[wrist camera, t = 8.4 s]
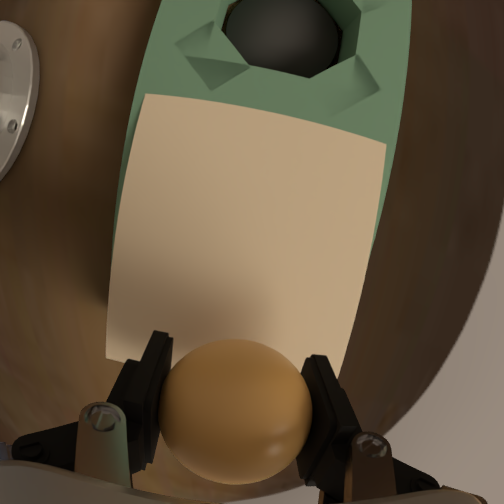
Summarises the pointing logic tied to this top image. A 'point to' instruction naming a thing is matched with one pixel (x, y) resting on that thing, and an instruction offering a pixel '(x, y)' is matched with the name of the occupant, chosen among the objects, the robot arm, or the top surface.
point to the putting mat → (255, 174)
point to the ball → (235, 411)
